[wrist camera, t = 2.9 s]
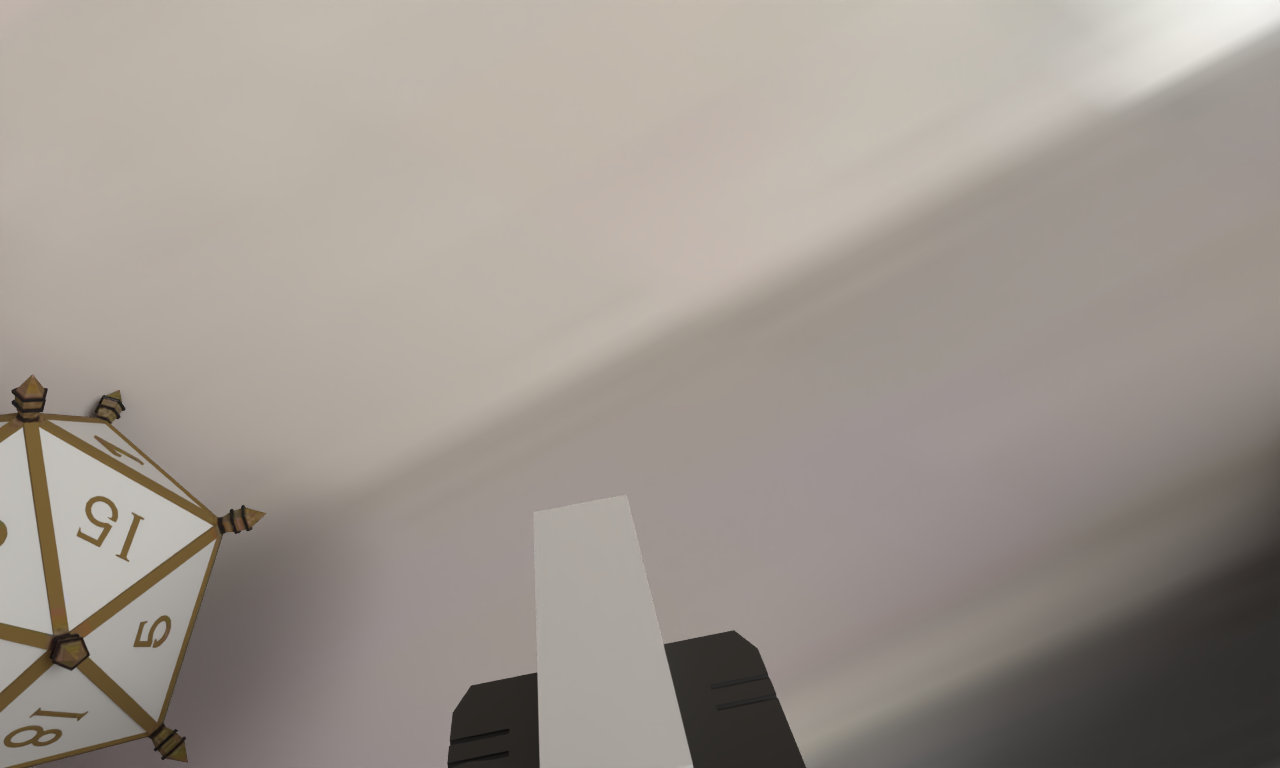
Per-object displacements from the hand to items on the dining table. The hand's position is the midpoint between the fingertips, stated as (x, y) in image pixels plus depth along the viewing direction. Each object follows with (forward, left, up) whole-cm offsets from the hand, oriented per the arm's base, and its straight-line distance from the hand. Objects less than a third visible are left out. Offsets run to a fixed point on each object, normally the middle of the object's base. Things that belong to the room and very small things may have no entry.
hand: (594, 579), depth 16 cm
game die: (+12, 0, -9) cm, 15 cm away
